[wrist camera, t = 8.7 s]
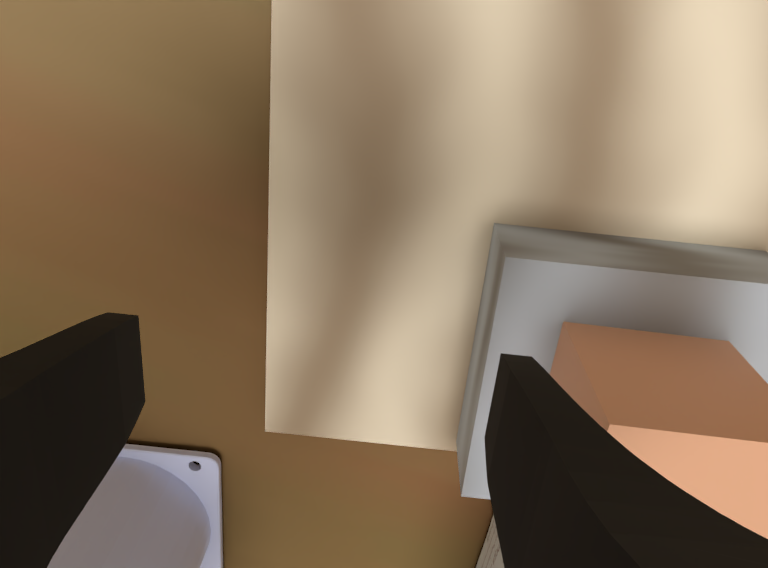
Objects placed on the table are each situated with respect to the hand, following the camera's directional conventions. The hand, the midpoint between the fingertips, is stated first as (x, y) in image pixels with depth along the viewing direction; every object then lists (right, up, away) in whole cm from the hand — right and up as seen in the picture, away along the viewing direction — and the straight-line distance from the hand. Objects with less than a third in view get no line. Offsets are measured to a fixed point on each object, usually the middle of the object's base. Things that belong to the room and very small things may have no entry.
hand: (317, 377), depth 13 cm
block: (+9, -2, +7) cm, 12 cm away
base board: (+6, +4, +9) cm, 12 cm away
